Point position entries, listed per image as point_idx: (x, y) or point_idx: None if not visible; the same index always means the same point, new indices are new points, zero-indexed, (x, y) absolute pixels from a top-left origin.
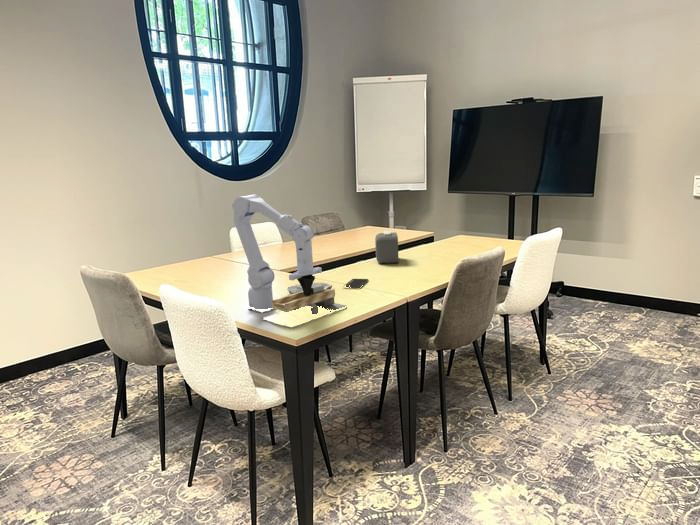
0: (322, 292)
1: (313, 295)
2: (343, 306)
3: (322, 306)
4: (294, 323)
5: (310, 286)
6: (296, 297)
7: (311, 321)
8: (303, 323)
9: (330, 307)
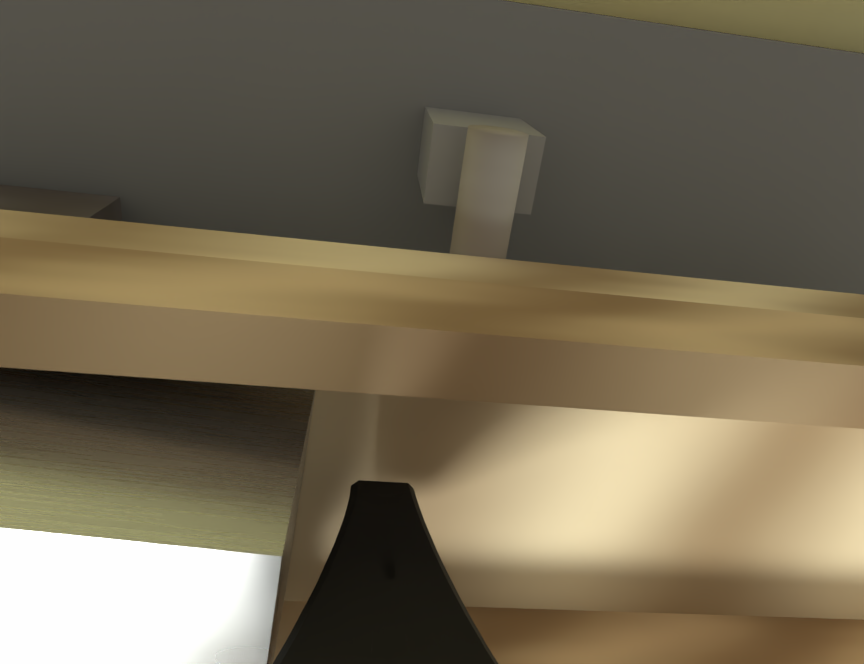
0: (38, 314)
1: (443, 331)
2: None
3: None
4: None
5: (345, 659)
6: (496, 627)
7: (700, 20)
8: None
9: (27, 136)
